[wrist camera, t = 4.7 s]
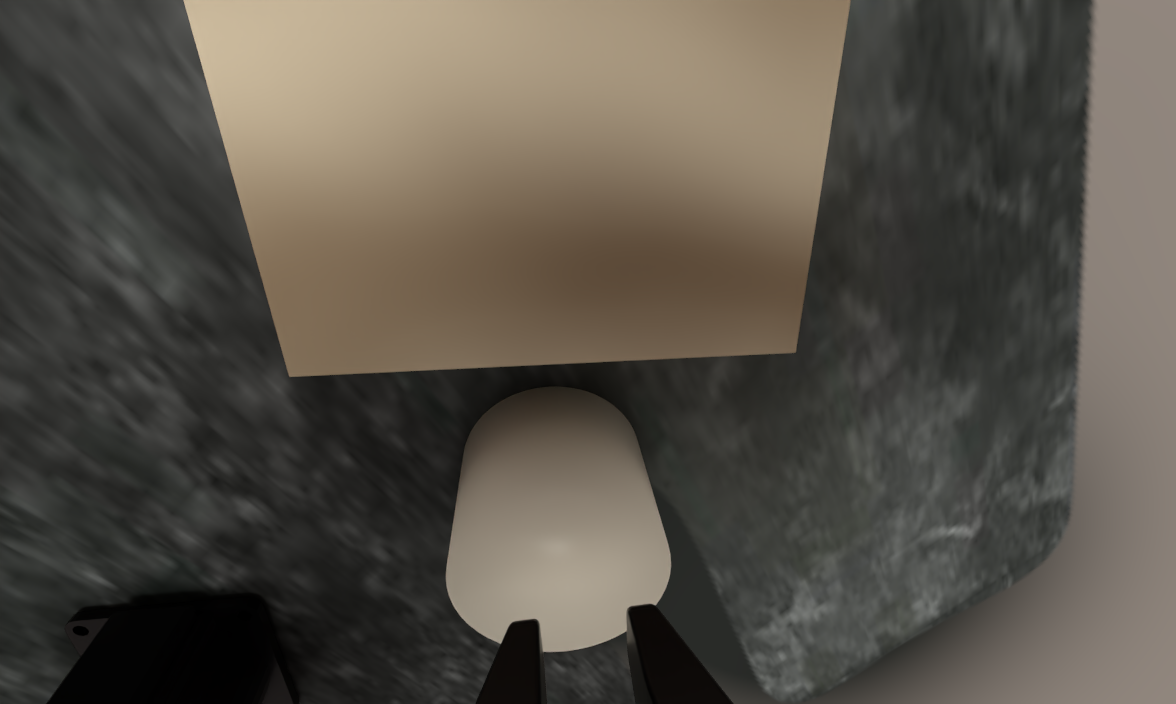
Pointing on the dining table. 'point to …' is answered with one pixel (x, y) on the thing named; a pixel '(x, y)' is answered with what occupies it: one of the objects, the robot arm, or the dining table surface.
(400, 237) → the box lid
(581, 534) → the beige tapered cylinder
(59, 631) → the dining table surface
